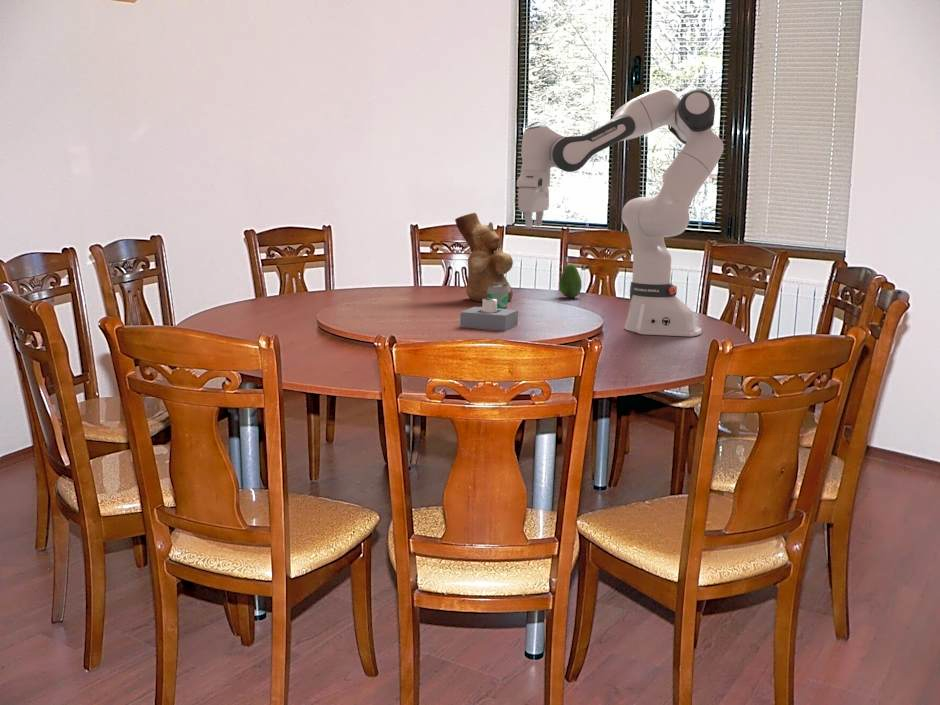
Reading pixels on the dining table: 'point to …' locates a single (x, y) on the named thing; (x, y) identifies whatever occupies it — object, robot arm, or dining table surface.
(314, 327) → the dining table surface
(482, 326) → the slate jig
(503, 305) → the food container
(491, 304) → the cylinder
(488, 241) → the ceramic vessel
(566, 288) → the avocado
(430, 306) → the dining table surface
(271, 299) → the dining table surface
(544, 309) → the dining table surface
